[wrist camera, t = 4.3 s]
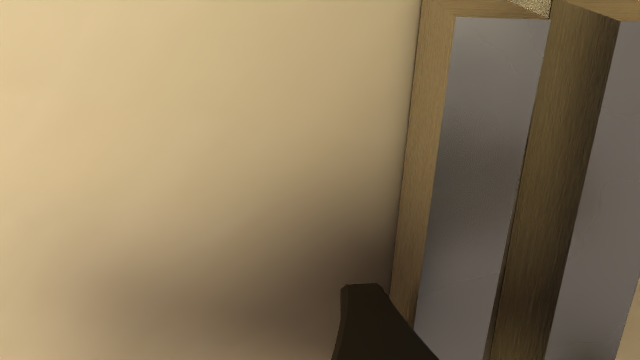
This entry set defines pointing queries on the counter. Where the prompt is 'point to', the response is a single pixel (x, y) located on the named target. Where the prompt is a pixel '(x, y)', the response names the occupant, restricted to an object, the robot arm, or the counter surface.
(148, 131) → the counter surface
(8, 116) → the counter surface
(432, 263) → the bar
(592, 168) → the tongs base
